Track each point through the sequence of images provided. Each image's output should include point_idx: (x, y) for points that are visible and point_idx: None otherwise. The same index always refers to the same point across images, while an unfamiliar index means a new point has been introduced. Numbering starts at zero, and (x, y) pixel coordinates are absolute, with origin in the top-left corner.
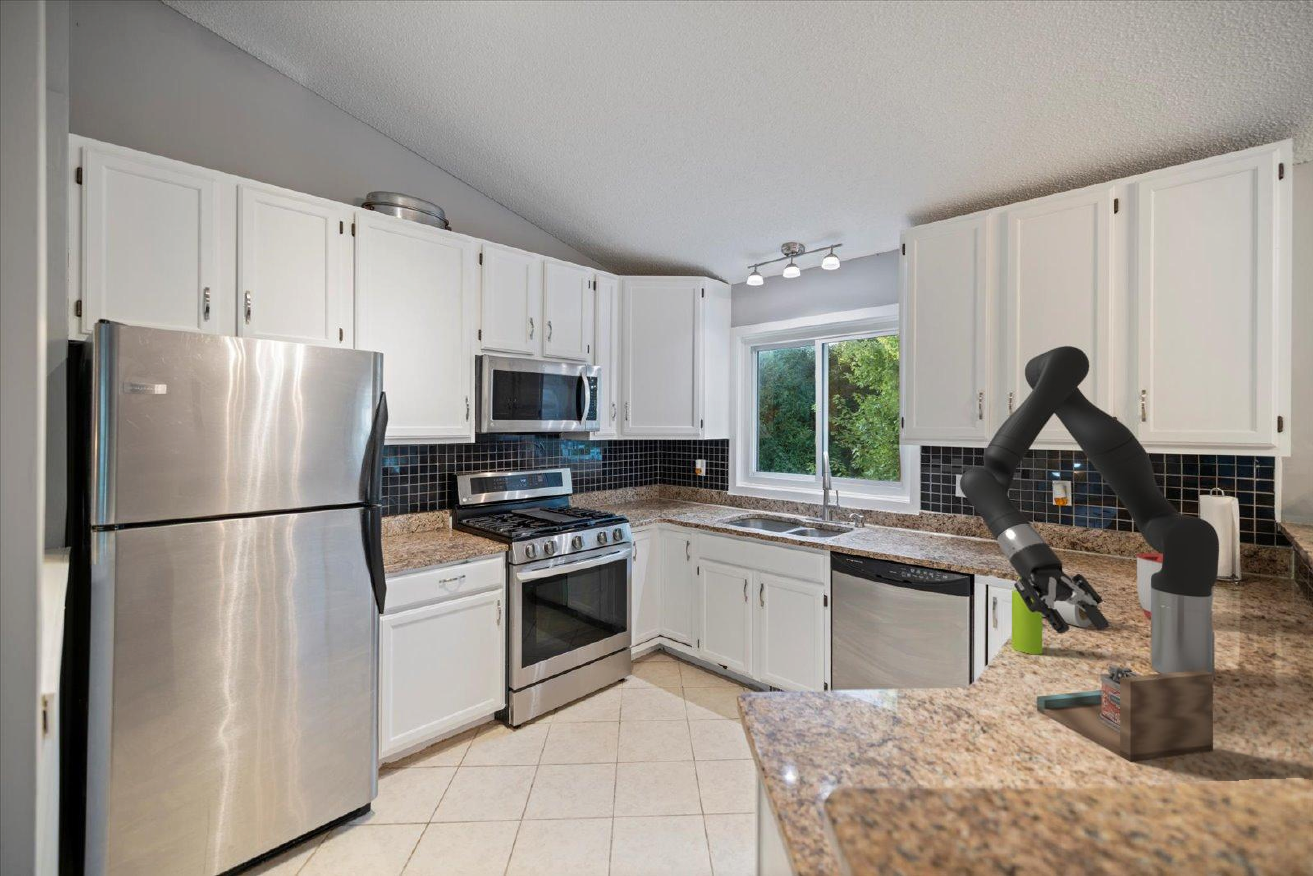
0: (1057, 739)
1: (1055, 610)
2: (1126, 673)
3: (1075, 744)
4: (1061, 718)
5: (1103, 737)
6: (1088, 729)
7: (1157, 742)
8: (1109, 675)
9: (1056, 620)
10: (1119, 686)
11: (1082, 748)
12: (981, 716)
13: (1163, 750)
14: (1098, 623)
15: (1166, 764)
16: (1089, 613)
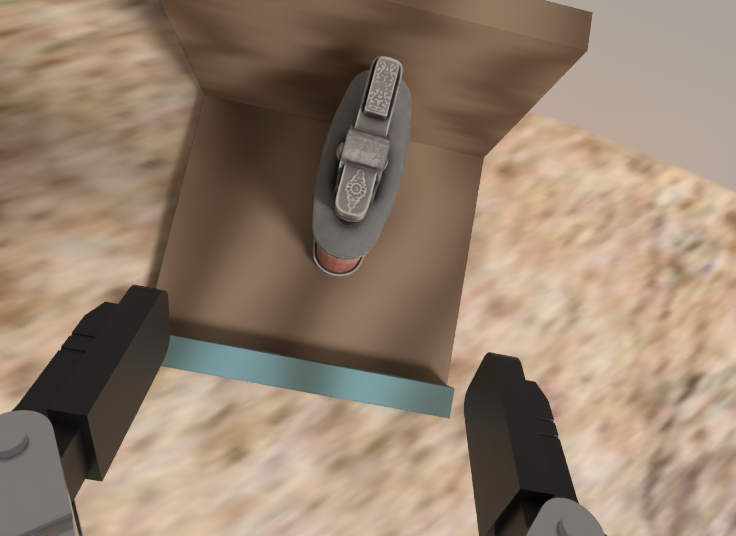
0: (545, 275)
1: (535, 480)
2: (386, 133)
3: (525, 241)
4: (455, 325)
5: (458, 209)
6: (451, 251)
7: None
8: (328, 237)
9: (548, 423)
10: (404, 165)
11: (528, 222)
12: (630, 446)
13: None
14: (151, 346)
15: None
16: (112, 431)
